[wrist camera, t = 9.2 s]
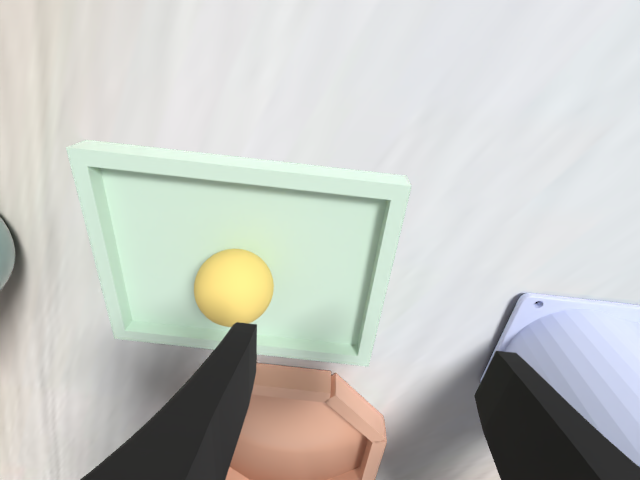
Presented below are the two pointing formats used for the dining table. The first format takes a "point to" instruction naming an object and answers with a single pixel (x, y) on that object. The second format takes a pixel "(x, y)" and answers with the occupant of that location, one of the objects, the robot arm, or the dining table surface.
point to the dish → (307, 429)
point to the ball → (233, 287)
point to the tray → (240, 244)
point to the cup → (6, 254)
